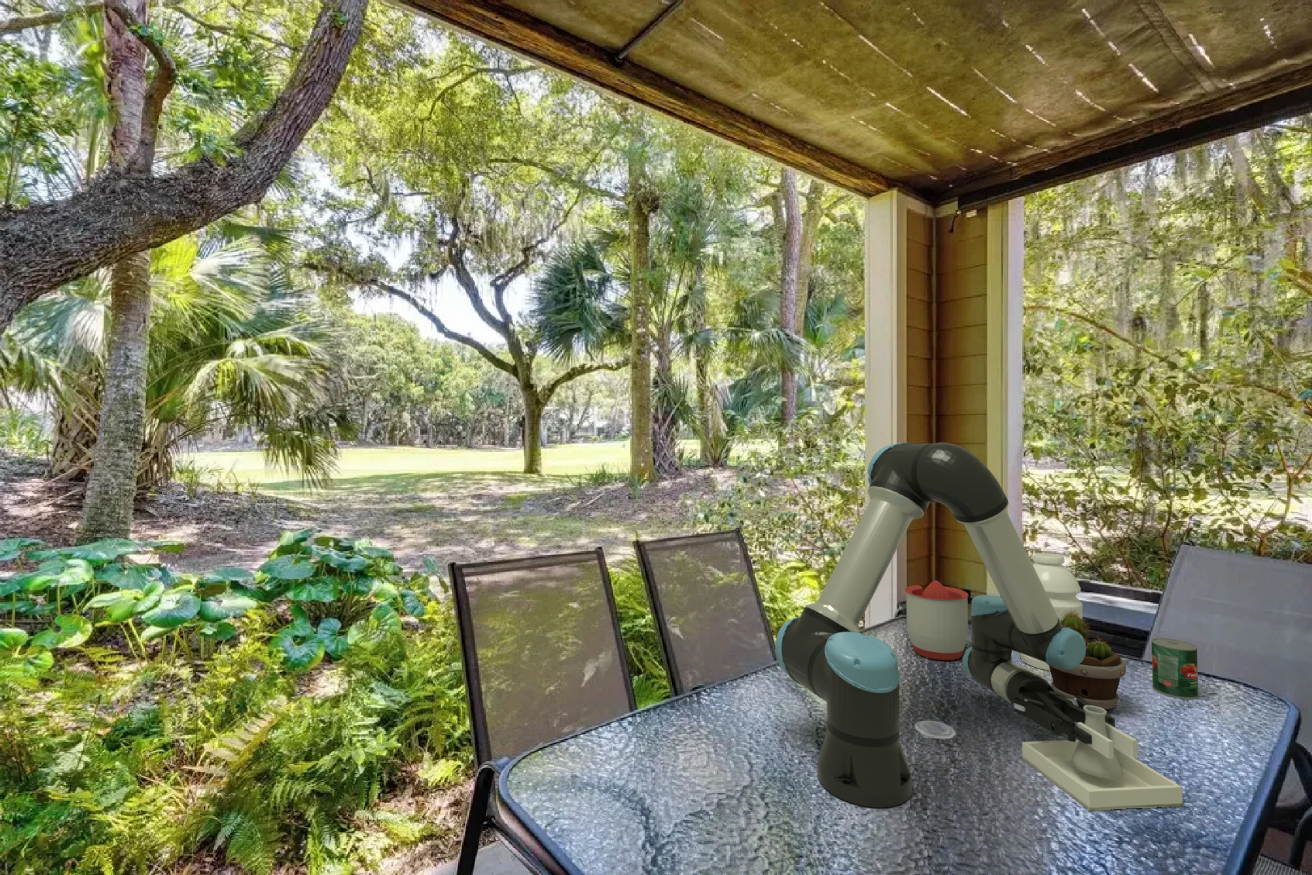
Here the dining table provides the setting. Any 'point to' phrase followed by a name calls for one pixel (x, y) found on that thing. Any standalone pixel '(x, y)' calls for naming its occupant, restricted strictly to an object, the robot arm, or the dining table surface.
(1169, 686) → the canned tomato
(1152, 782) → the box
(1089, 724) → the flask
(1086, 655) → the flowerpot
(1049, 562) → the bottle
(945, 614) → the citrus juicer
